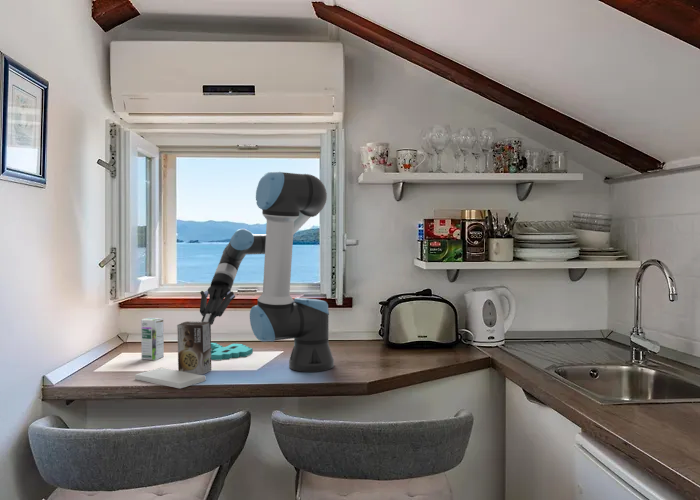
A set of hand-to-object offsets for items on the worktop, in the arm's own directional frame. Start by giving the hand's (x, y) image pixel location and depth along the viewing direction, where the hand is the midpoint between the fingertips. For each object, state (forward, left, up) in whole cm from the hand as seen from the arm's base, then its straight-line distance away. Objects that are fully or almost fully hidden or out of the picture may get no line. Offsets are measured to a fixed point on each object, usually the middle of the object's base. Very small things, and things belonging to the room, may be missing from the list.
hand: (203, 331), depth 183 cm
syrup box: (+25, +1, -12) cm, 28 cm away
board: (-4, +18, -12) cm, 22 cm away
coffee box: (-3, +7, -12) cm, 14 cm away
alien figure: (+8, -18, -13) cm, 24 cm away
